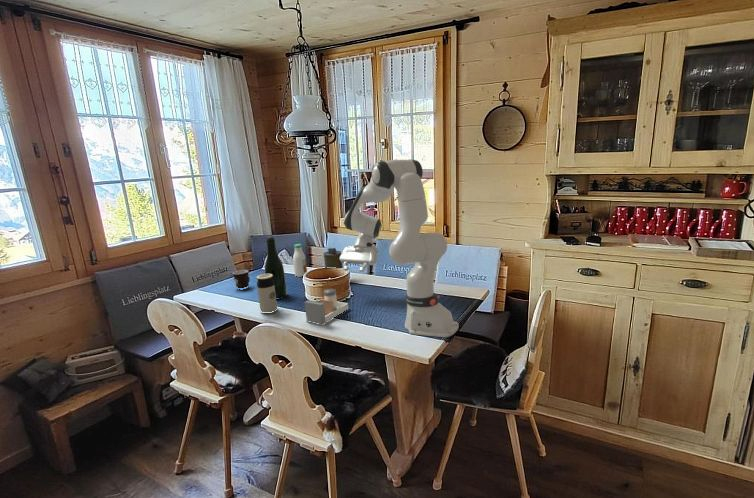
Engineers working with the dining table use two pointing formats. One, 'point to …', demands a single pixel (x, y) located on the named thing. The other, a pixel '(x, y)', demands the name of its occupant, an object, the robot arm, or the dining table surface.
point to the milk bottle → (299, 261)
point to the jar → (331, 296)
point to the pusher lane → (338, 311)
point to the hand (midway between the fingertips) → (353, 270)
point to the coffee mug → (241, 278)
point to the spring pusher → (327, 305)
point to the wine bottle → (275, 268)
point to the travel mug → (266, 293)
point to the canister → (332, 258)
